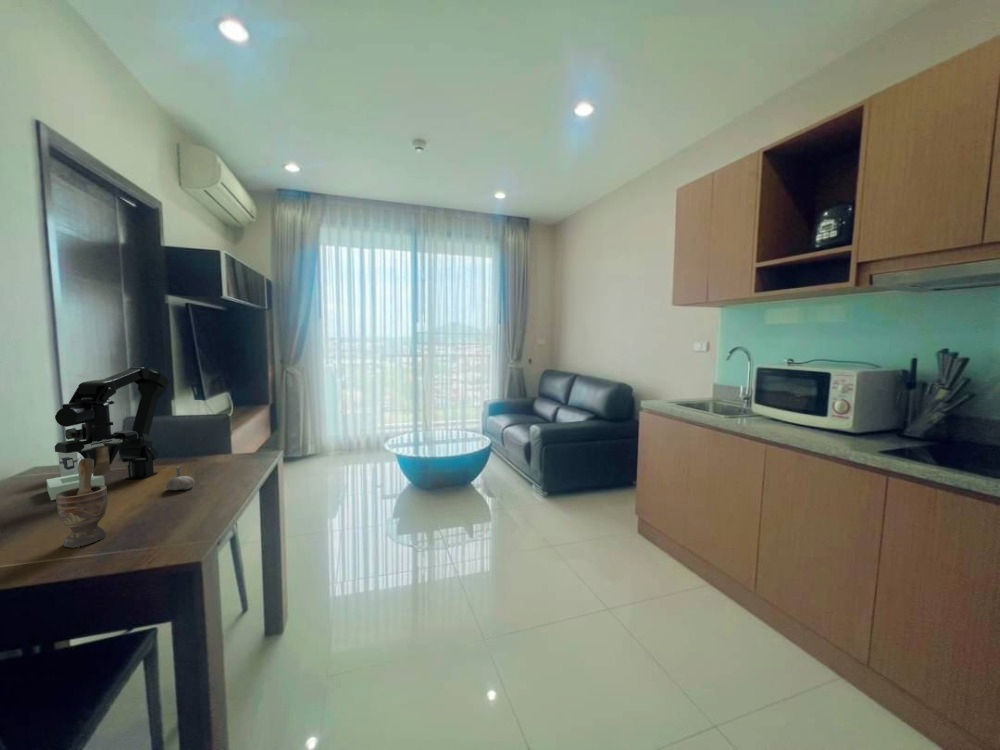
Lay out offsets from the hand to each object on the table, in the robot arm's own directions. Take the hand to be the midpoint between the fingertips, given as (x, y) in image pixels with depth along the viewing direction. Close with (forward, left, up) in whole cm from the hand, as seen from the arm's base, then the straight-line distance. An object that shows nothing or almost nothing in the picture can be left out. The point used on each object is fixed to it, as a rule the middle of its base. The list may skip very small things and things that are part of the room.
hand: (101, 466), depth 124 cm
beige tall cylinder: (0, 0, -3) cm, 3 cm away
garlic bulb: (-22, -4, -10) cm, 24 cm away
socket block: (+12, -3, -9) cm, 16 cm away
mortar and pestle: (-24, +29, -10) cm, 39 cm away
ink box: (+26, -16, -10) cm, 32 cm away
